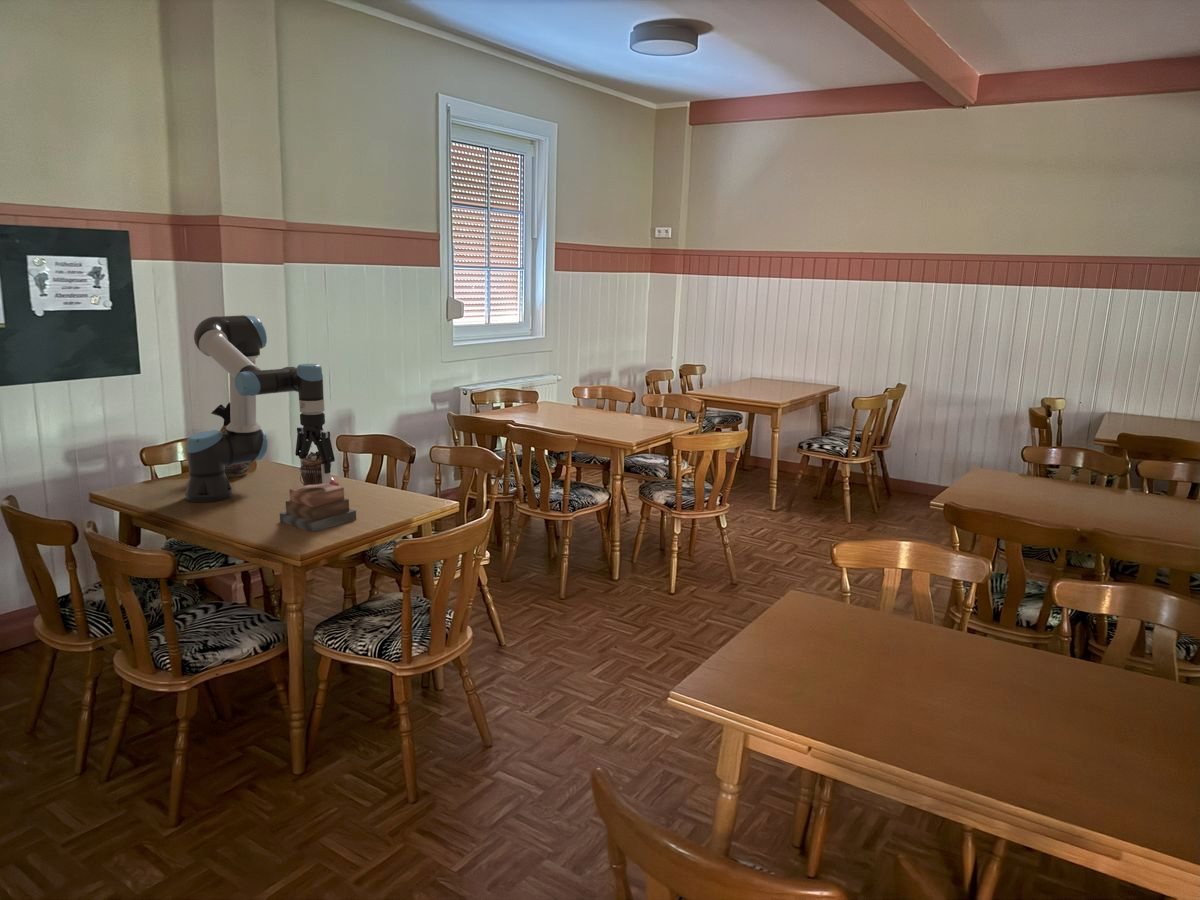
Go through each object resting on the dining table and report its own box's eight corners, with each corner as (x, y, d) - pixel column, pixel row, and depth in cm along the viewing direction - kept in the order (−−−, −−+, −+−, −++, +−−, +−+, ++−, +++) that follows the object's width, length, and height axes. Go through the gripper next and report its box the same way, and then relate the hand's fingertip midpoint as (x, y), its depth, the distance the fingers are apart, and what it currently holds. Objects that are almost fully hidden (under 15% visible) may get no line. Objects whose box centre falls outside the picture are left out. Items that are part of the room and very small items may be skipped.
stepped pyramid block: (280, 522, 269) (277, 489, 267) (323, 510, 283) (322, 479, 280) (312, 532, 260) (310, 498, 257) (356, 519, 273) (354, 487, 271)
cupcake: (319, 476, 275) (317, 447, 273) (337, 481, 269) (336, 451, 267) (294, 482, 267) (292, 452, 265) (313, 487, 262) (311, 456, 260)
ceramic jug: (208, 480, 319) (201, 404, 312) (217, 471, 333) (211, 397, 327) (254, 479, 322) (248, 403, 316) (262, 469, 337) (256, 397, 330)
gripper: (280, 410, 267) (285, 477, 271) (324, 418, 254) (328, 488, 259) (300, 407, 273) (304, 472, 277) (344, 414, 260) (347, 483, 265)
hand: (316, 480), depth 268 cm, fingers closed on cupcake, 10 cm apart
